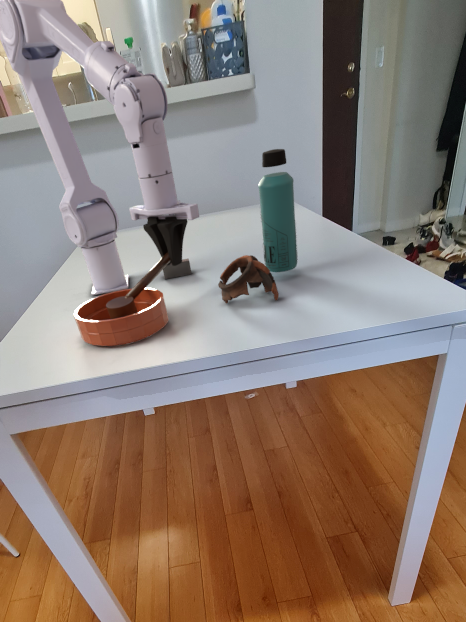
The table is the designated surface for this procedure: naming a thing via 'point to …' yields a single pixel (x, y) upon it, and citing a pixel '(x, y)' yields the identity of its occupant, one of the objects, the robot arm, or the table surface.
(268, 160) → the beverage bottle
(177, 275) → the grey rectangular block
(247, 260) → the broken clay pot
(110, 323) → the bowl
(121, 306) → the ladle
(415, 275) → the table surface
